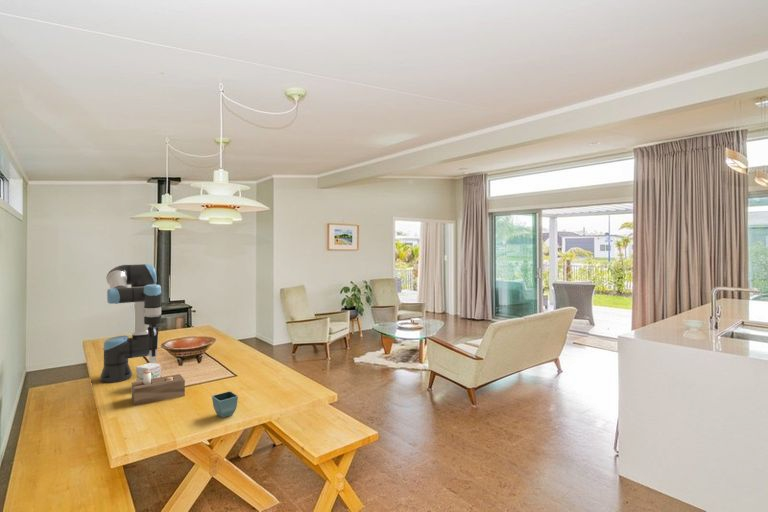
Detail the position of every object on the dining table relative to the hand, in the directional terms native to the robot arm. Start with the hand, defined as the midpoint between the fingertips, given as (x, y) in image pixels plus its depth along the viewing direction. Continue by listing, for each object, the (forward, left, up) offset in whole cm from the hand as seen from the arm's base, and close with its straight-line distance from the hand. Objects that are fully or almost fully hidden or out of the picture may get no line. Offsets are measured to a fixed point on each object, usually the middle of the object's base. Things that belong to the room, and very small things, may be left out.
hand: (153, 362), depth 205 cm
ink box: (-19, 0, -18) cm, 26 cm away
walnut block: (0, +2, -18) cm, 18 cm away
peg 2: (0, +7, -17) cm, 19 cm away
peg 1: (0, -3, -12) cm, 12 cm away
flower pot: (+41, +23, -18) cm, 51 cm away
